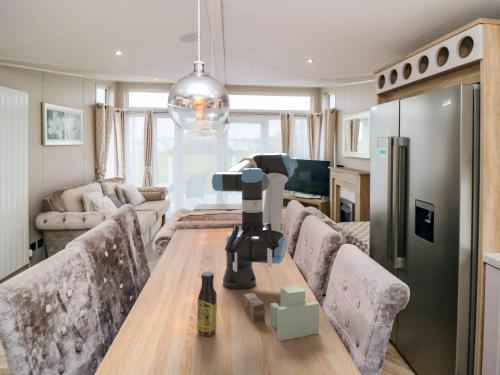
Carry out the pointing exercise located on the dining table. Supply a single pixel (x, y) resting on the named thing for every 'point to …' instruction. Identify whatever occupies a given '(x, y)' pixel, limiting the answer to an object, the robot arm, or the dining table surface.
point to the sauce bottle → (207, 306)
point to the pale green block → (294, 314)
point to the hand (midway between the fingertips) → (252, 268)
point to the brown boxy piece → (254, 307)
